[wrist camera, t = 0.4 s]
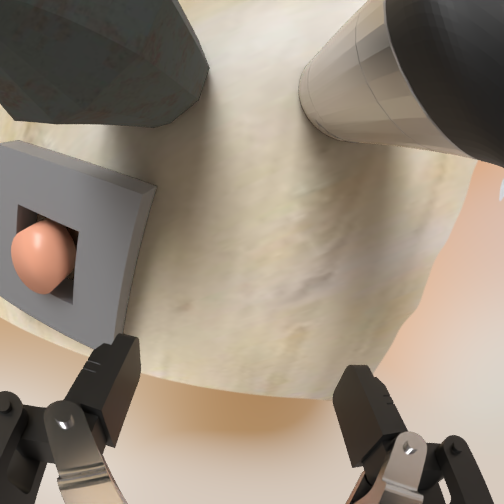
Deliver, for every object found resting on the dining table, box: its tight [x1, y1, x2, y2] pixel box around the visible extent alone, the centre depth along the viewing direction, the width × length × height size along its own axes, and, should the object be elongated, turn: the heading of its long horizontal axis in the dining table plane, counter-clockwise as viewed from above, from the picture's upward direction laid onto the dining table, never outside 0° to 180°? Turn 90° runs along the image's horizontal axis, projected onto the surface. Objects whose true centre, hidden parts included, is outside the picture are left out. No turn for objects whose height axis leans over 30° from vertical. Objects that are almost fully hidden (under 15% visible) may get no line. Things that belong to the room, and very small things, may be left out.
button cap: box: [11, 218, 76, 294], centre depth 23 cm, size 7×7×4 cm
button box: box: [0, 140, 157, 349], centre depth 25 cm, size 20×20×4 cm
